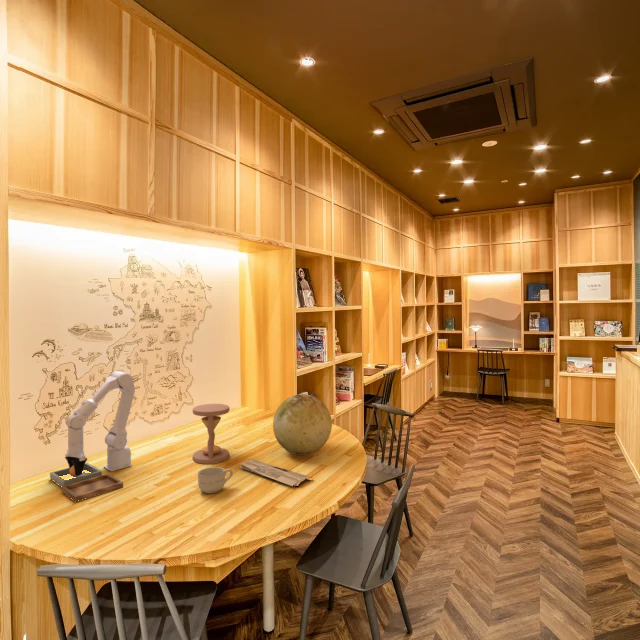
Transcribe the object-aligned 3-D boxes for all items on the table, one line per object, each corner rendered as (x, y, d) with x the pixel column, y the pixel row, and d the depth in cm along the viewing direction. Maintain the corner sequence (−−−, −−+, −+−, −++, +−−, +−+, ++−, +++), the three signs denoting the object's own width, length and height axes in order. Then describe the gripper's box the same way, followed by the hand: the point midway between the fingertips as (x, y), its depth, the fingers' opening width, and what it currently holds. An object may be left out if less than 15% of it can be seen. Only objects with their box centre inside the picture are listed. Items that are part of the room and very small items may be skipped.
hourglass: (224, 464, 197) (224, 411, 196) (188, 464, 197) (187, 411, 196) (232, 451, 215) (232, 403, 214) (198, 451, 214) (198, 403, 214)
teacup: (197, 497, 162) (197, 477, 162) (197, 486, 172) (197, 467, 172) (233, 493, 166) (233, 473, 166) (232, 482, 176) (232, 463, 176)
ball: (80, 473, 183) (80, 461, 183) (84, 475, 180) (84, 464, 180) (67, 476, 179) (67, 465, 179) (72, 479, 176) (72, 467, 176)
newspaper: (312, 481, 179) (312, 473, 179) (294, 491, 169) (294, 482, 169) (254, 463, 200) (254, 455, 200) (234, 471, 190) (234, 463, 190)
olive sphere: (287, 441, 232) (287, 387, 231) (338, 447, 222) (339, 391, 221) (262, 459, 204) (262, 398, 203) (320, 467, 194) (320, 403, 193)
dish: (87, 469, 190) (87, 462, 190) (101, 477, 180) (101, 470, 180) (50, 479, 178) (50, 472, 178) (63, 489, 169) (63, 481, 169)
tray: (107, 478, 180) (107, 473, 180) (123, 487, 171) (123, 482, 171) (61, 492, 166) (61, 486, 166) (75, 502, 157) (75, 497, 157)
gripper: (59, 441, 181) (59, 471, 181) (72, 448, 171) (72, 480, 172) (76, 437, 186) (77, 467, 186) (90, 443, 177) (90, 475, 177)
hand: (76, 473), depth 179 cm, fingers closed on ball, 5 cm apart
